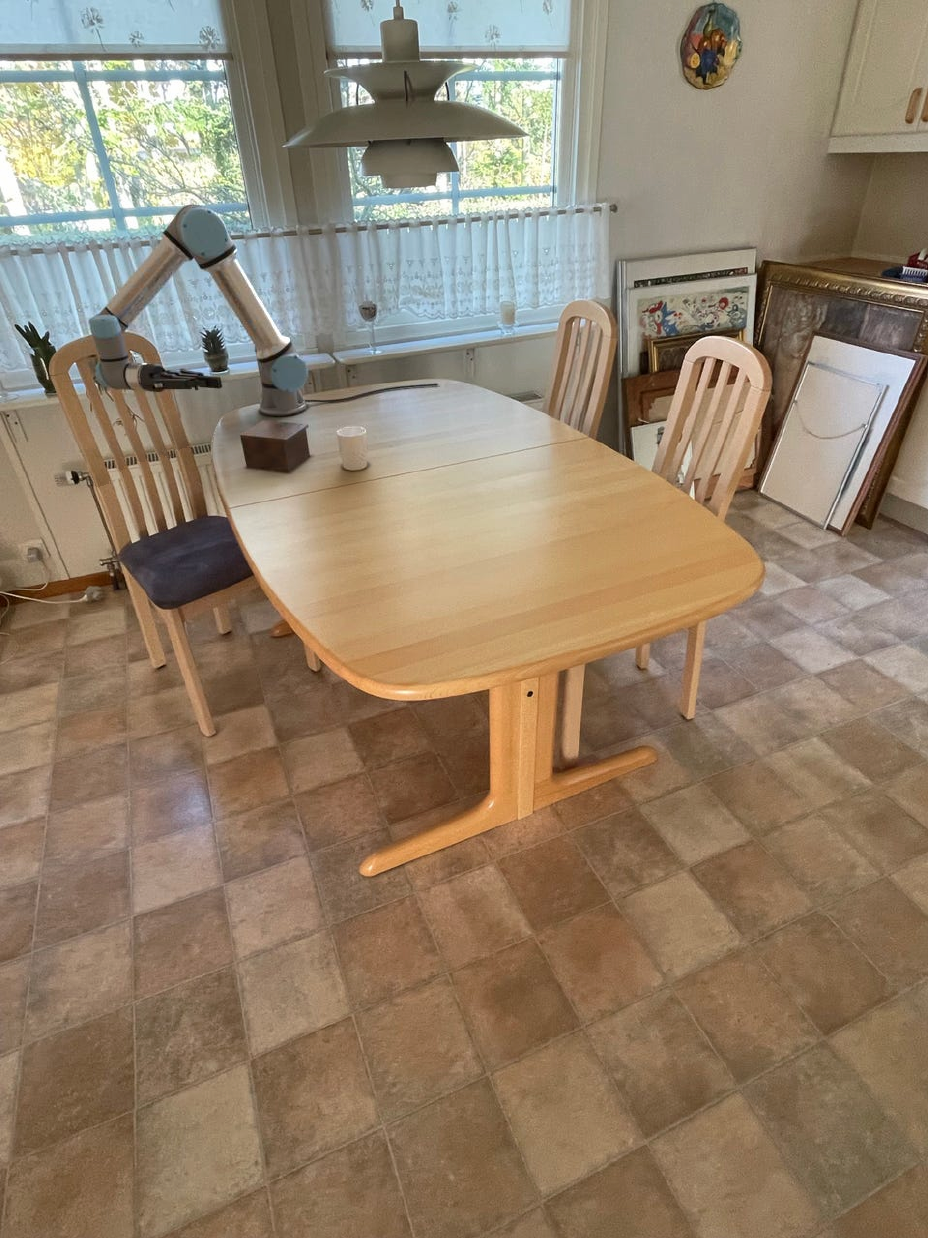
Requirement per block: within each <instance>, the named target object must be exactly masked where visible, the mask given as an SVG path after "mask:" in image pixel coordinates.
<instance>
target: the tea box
mask: <svg viewBox="0 0 928 1238" xmlns="http://www.w3.org/2000/svg"><path fill="white" fill-rule="evenodd" d="M240 442H241V443H240V444H241V447H242V452H243V457H244V462H245V466H246V468H247V469H255V470H265V471H271V472H281V473H290V472H292V471H293V470H294V469H295V468H297V467H298V466H299V465H301V464H302V463H303V462H305V461H306V460H307V459H309V458H310V457H311V453H310V446H309V439H308V433H307V428H306V429H305V430H304V431H302V432H301V433H299V434H298V435H296V436H295V437H294V438H292V439H291V440H289V441H288V442H278V441H268V440H259V439H249V438H240Z"/></svg>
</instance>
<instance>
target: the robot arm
mask: <svg viewBox="0 0 928 1238" xmlns="http://www.w3.org/2000/svg"><path fill="white" fill-rule="evenodd" d="M237 252H238V248H237V246H236V245H235V243H234V242H233V240H232V238H231V236H230V234H229V231H228V228H227V225H226V223H225V222H224V220H223V218H222V217H221V216H220V215H219V214H218V213H217V212H216V211H214V210H213V209H212V208H209V207H206V206H202V205H200V204H194V203H193V204H192V203H191V204H186V205H185V206H182V207H181V208H180V209H179V210H178V211H177V213H176V214H175V215H174V217H173V219H172V220H171V222H170V223H169V224H168V226H167V227H166V228H165V230H164V231H163V232H162V233H161V241H160V242H159V243H158V244H157V246H156V247H155V248H154V249H153V250H152V252H150V253H149V255H148V256H147V257H146V259H145V260H144V261H142V263H141V264H140V265H139V266H138V268H136V270H135V271H134V273H132V274H131V275H130V277H129V278H128V279H127V281H126V282H125V283H124V284H123V285H122V286H121V288H120V289H119V290H118V291H117V292H116V294H114V296H113V297H112V298H111V299H110V300H109V302H108V303H106V305H105V306H104V308H102V310H101V311H100V312H99V313H97V314H95V315H94V316H92V317H90V318H88V325H89V330H90V334H91V336H92V339H93V342H94V345H95V347H96V351H97V354H98V356H99V361H98V362H97V363H96V365H95V368H94V369H95V373H94V375H95V378H96V380H97V382H98V384H100V385H101V386H102V387H105V388H109V389H113V390H125V391H126V390H127V391H141V393H145V392H151V393H162V392H163V391H165V390H192V389H193V388H194V391H199V388H207V389H222V388H223V382H222V378H221V376H214V375H213V376H210V375H204V372H201V371H195V370H194V371H193V370H188V369H186V368H179V371H177V370H173V369H167V370H166V369H165V368H164V367H163V366H162V365H161V364H159V363H148V362H147V363H146V362H134V361H133V362H132V361H131V360H130V357H129V353H128V349H127V347H126V343H125V339H124V335H123V334H124V333H125V332H126V331H127V330H128V328H129V327H130V326H131V324H132V323H134V321H136V319H137V317H138V316H139V315H140V314H141V313H142V312H143V311H144V310H145V309H146V307H147V306H148V305H149V304H150V303H151V301H153V299H154V298H155V297H156V296H157V295H158V294H159V292H160V291H161V290H162V289H163V288H164V287H165V285H166V284H167V283H168V282H169V281H170V280H171V279H172V277H173V276H174V275H175V274H176V273H177V272H178V271H179V270H180V268H181V267H182V266H183V265H184V264H185V263H186V262H187V263H191V262H192V261H193V259H194V261H195V263H196V264H197V266H198V267H199V269H200V270H201V271H204V272H205V273H208V274H210V277H212V280H213V281H214V282H215V284H216V286H217V288H218V289H219V291H220V292H221V293H222V295H223V297H224V299H225V300H226V302H227V303H228V305H229V307H230V308H231V310H232V311H233V313H234V314H235V316H236V318H237V319H238V321H239V323H240V324H241V326H242V327H243V329H244V331H245V332H246V334H247V335H248V337H249V338H250V340H251V341H252V344H253V345H254V352H255V357H256V361H257V367H258V372H259V378H260V383H261V393H260V396H259V401H260V402H259V408H260V412H261V414H263V415H266V416H270V417H271V416H272V417H286V416H293V415H296V414H299V413H301V412H304V410H306V409H307V403H332V402H333V403H334V402H343V401H348V400H352V399H357V398H360V397H362V396H367V395H369V394H375V393H378V392H384V391H390V390H397V389H408V388H417V387H431V386H432V387H433V386H438V385H439V384H438V382H436V383H423V384H422V383H420V384H408V385H399V386H390V387H384V388H381V389H374V390H370V391H367V392H363V393H362V392H361V393H359V394H358V393H357V394H355V395H352V396H349V397H342V398H336V399H335V398H334V399H305V397H304V395H303V392H302V391H301V389H302V388H303V387H304V386H305V384H306V383H307V380H308V378H309V367H308V365H307V362H306V360H305V358H303V357H302V356H300V354H299V352H298V351H297V349H296V347H295V346H294V344H293V342H292V341H291V339H290V337H289V336H286V335H283V334H281V331H280V330H279V328H278V327H277V325H276V323H275V321H274V320H273V318H272V317H271V315H270V313H269V311H268V309H267V308H266V306H265V304H264V303H263V301H262V299H261V298H260V296H259V294H258V292H257V291H256V289H255V288H254V286H253V284H252V282H251V281H250V279H249V277H248V276H247V274H246V272H245V271H244V269H243V268H242V266H241V264H240V262H239V260H238V259H237Z"/></svg>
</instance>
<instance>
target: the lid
mask: <svg viewBox="0 0 928 1238" xmlns="http://www.w3.org/2000/svg"><path fill="white" fill-rule="evenodd" d="M308 428H309V424H306V423H297V422H287V421H277V420H276V421H275V420H265V419H263V420H261V421H259V422H258V423H257V424H255V425H253V426H252V427H250V428H249V429H247V430H245V431H244V432H242V433H240V434H239V438H240V439H241V438H249V439H259V440H268V441H278V442H288V441H289V440H291V439H292V438H294V437H295V436H296V435H298V434H299V433H301V432H302V431H304V430H305V429H306V430H307V429H308Z"/></svg>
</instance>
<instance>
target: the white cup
mask: <svg viewBox="0 0 928 1238" xmlns="http://www.w3.org/2000/svg"><path fill="white" fill-rule="evenodd" d="M336 435H337V436H336V437H337V442H338V448H339V454H340V458H341V461H342V467H343V469H345V470H347V471H360V470H364V469H365V468H367V467H368V443H367V441H368V440H367V430H366V429H365V428H364V427H361V426H355V425H354V426H346V427H342V428H339V429H338V430H337V431H336Z"/></svg>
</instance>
